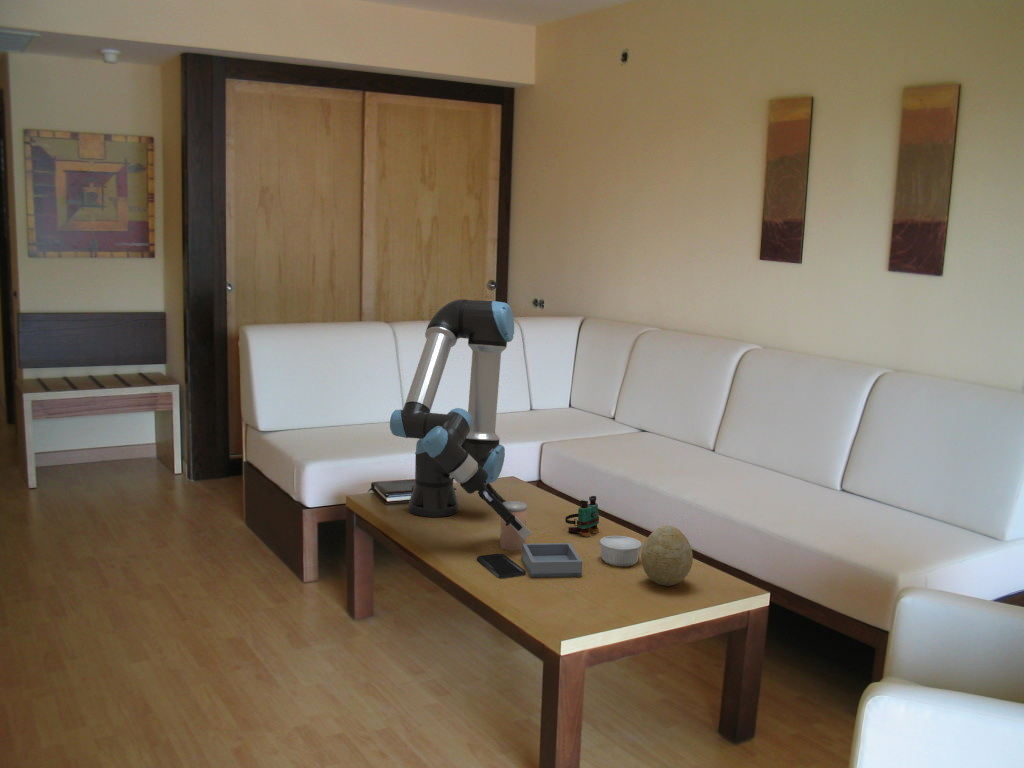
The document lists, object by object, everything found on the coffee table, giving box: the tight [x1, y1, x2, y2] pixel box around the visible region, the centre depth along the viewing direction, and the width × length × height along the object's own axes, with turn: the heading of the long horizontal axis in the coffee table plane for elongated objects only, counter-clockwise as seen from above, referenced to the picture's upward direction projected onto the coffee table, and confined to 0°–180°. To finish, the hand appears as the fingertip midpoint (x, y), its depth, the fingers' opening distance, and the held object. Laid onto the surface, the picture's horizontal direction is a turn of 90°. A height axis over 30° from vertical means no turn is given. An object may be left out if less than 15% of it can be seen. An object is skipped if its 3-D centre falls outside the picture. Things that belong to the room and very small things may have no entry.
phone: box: [476, 553, 526, 580], centre depth 245 cm, size 8×1×15 cm
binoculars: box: [564, 495, 600, 538], centre depth 275 cm, size 9×11×10 cm
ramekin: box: [599, 535, 643, 567], centre depth 253 cm, size 11×11×5 cm
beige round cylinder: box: [499, 500, 528, 552], centre depth 260 cm, size 7×7×12 cm
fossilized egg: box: [640, 525, 694, 587], centre depth 237 cm, size 13×13×15 cm
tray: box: [521, 542, 583, 579], centre depth 246 cm, size 14×13×4 cm
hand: (525, 530), depth 261 cm, fingers open, 8 cm apart
